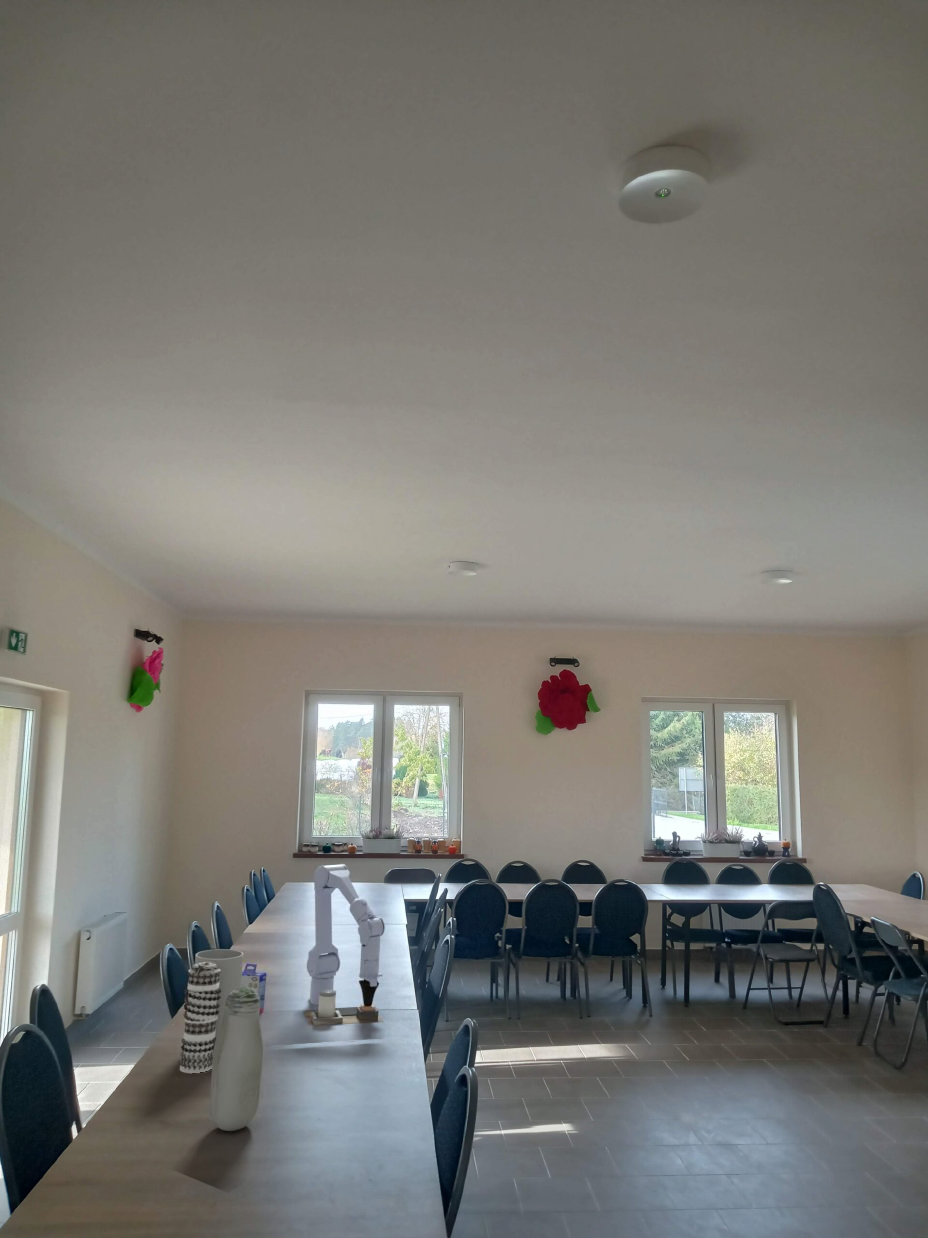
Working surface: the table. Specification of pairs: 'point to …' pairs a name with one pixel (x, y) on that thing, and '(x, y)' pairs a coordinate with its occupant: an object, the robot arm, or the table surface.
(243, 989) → the glass bottle
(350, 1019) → the base board
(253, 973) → the ink cartridge box
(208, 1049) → the decorative candle
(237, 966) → the cylinder vase
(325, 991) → the cylinder
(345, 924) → the table surface
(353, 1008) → the rubber mat
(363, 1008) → the peach square block
